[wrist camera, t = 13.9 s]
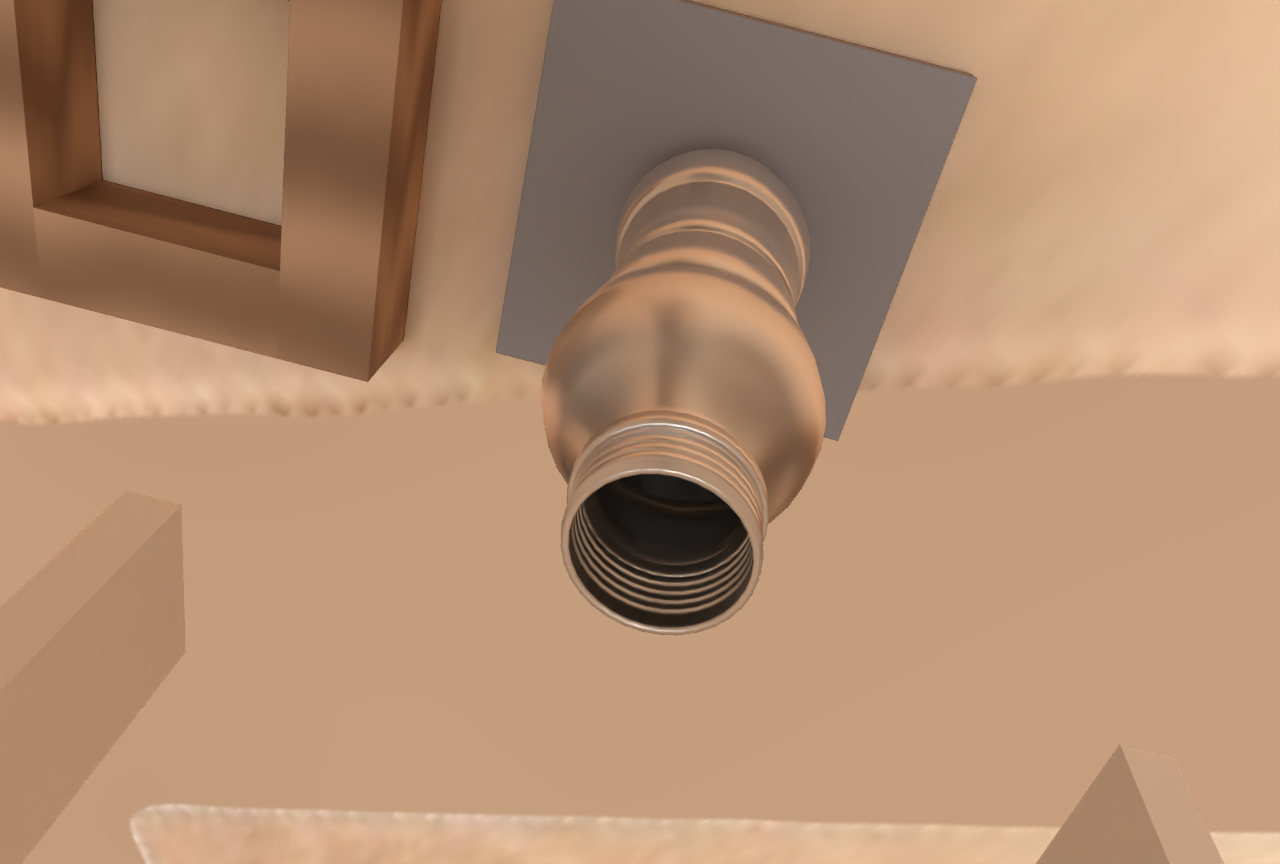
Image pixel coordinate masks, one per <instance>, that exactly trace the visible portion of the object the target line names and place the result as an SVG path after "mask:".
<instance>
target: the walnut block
mask: <svg viewBox="0 0 1280 864" xmlns="http://www.w3.org/2000/svg"><path fill="white" fill-rule="evenodd" d="M289 1H290V25H289V51H288V76H287V102H286V128H285V154H284V180H283V206H282V226H278V225H274V224H270V223H266V222H262V221H258V220H254V219H251V218H247V217H243V216H239V215H235V214H231V213H227V212H224V211H220V210H216V209H212V208H208V207H204V206H200V205H196V204H193V203H189V202H185V201H181V200H177V199H173V198H169V197H165V196H162V195H158V194H154V193H150V192H146V191H142V190H138V189H135V188H131V187H127V186H123V185H119V184H115V183H111V182H107V181H104V180H102V169H101V152H100V134H99V116H98V99H97V81H96V64H95V46H94V29H93V11H92V0H0V287H2V288H5V289H9V290H13V291H17V292H21V293H25V294H29V295H33V296H36V297H40V298H44V299H48V300H52V301H56V302H60V303H64V304H68V305H71V306H75V307H79V308H83V309H87V310H91V311H95V312H99V313H102V314H106V315H110V316H114V317H118V318H122V319H126V320H130V321H134V322H137V323H141V324H145V325H149V326H153V327H157V328H161V329H165V330H168V331H172V332H176V333H180V334H184V335H188V336H192V337H196V338H200V339H203V340H207V341H211V342H215V343H219V344H223V345H227V346H231V347H234V348H238V349H242V350H246V351H250V352H254V353H258V354H262V355H266V356H269V357H273V358H277V359H281V360H285V361H289V362H293V363H297V364H300V365H304V366H308V367H312V368H316V369H320V370H324V371H328V372H332V373H335V374H339V375H343V376H347V377H351V378H355V379H359V380H363V381H366V382H368V381H369V380H370V379H371V377H372V376H373V375H374V374H375V373H376V372H377V370H378V369H379V368H380V367H381V366H382V365H383V363H384V362H385V361H386V360H387V359H388V358H389V356H390V355H391V354H392V353H393V352H394V351H395V349H396V348H397V347H398V346H399V345H400V344H401V342H402V341H403V340H404V331H405V322H406V313H407V304H408V295H409V286H410V277H411V268H412V259H413V250H414V241H415V232H416V223H417V214H418V205H419V196H420V188H421V179H422V170H423V161H424V152H425V143H426V134H427V125H428V116H429V107H430V98H431V89H432V80H433V71H434V62H435V53H436V44H437V35H438V26H439V17H440V8H441V0H289Z"/></svg>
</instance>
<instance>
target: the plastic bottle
mask: <svg viewBox="0 0 1280 864" xmlns="http://www.w3.org/2000/svg"><path fill="white" fill-rule="evenodd" d="M809 262H810V236H809V232H808V228H807V224H806V220H805V217H804V215H803V213H802V210H801V208H800V206H799V204H798V202H797V200H796V199H795V197H794V196H793V194H792V193H791V192H790V190H789V189H788V188H787V186H786V185H785V184H784V183H783V182H782V181H781V180H780V179H779V178H778V177H777V176H776V175H775V174H774V173H773V172H771V171H770V170H769V169H768V168H767V167H766V166H764V165H762V164H761V163H759V162H758V161H756V160H754V159H753V158H751V157H748V156H745V155H743V154H740V153H737V152H734V151H728V150H721V149H702V150H695V151H692V152H688V153H684V154H681V155H678V156H675V157H673V158H671V159H669V160H667V161H665V162H663V163H661V164H660V165H658V166H656V167H655V168H654V169H653V170H651V171H650V172H649V173H648V174H646V175H645V176H644V177H643V178H642V179H641V180H640V181H639V183H638V184H637V185H636V186H635V188H634V189H633V190H632V191H631V193H630V195H629V196H628V198H627V200H626V202H625V204H624V206H623V208H622V211H621V215H620V218H619V222H618V225H617V234H616V248H615V263H616V269H615V271H614V272H613V274H612V276H611V277H610V279H609V280H608V281H607V282H606V283H604V284H603V285H602V286H601V287H600V288H599V289H598V290H597V291H596V292H595V293H594V294H592V295H591V296H590V297H589V298H588V299H587V300H586V301H585V302H584V303H583V304H582V305H581V306H580V308H579V309H578V310H577V311H576V312H575V314H574V315H573V316H572V317H571V318H570V320H569V321H568V323H567V324H566V325H565V327H564V328H563V329H562V331H561V332H560V334H559V336H558V338H557V340H556V341H555V343H554V345H553V347H552V349H551V351H550V353H549V355H548V359H547V363H546V367H545V371H544V375H543V379H542V411H543V418H544V425H545V430H546V436H547V441H548V446H549V449H550V452H551V454H552V457H553V459H554V462H555V464H556V467H557V469H558V470H559V472H560V473H561V475H562V477H563V478H564V479H565V481H566V483H567V484H568V489H567V491H568V492H567V507H566V510H565V514H564V517H563V520H562V527H561V550H562V556H563V561H564V564H565V567H566V569H567V571H568V574H569V576H570V579H571V580H572V582H573V583H574V584H575V586H576V588H577V589H578V590H579V592H580V593H581V594H582V595H583V596H584V598H586V599H587V601H588V602H589V603H590V604H591V605H592V606H594V607H595V608H596V609H598V610H599V611H600V612H602V613H603V614H604V615H606V616H607V617H609V618H611V619H613V620H615V621H617V622H619V623H621V624H622V625H624V626H627V627H631V628H633V629H637V630H639V631H642V632H648V633H654V634H660V635H682V634H689V633H696V632H700V631H703V630H706V629H709V628H712V627H715V626H717V625H719V624H720V623H722V622H724V621H726V620H728V619H729V618H731V617H732V616H733V615H734V614H735V613H736V612H737V611H739V610H740V609H741V608H742V607H743V606H744V605H745V603H746V602H747V601H748V599H749V598H750V597H751V595H752V593H753V591H754V589H755V587H756V584H757V582H758V580H759V575H760V573H761V568H762V561H763V541H764V539H765V536H766V530H767V525H768V524H769V523H770V522H772V521H773V520H774V519H775V518H776V517H777V516H778V515H780V514H781V513H782V512H783V511H784V510H785V509H786V508H787V507H788V506H789V505H790V504H791V502H792V501H793V500H794V498H795V497H796V496H797V494H798V493H799V491H800V490H801V489H802V487H803V485H804V484H805V482H806V480H807V478H808V476H809V475H810V473H811V471H812V469H813V466H814V464H815V462H816V459H817V457H818V455H819V453H820V450H821V447H822V441H823V437H824V432H825V426H826V411H825V396H824V392H823V388H822V384H821V380H820V376H819V372H818V369H817V365H816V361H815V357H814V355H813V353H812V351H811V349H810V347H809V345H808V343H807V341H806V339H805V337H804V334H803V332H802V330H801V328H800V326H799V324H798V322H797V317H796V313H795V306H796V305H797V303H798V300H799V298H800V295H801V292H802V290H803V287H804V284H805V281H806V278H807V274H808V268H809Z"/></svg>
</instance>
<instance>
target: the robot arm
mask: <svg viewBox="0 0 1280 864" xmlns="http://www.w3.org/2000/svg"><path fill="white" fill-rule="evenodd" d="M182 548H183V547H182V513H181V504H177V503H173V502H169V501H165V500H161V499H157V498H153V497H149V496H145V495H141V494H137V493H133V492H130V491H125V492H124V493H123V494H122V495H121V496H120V497H119V498H118V499H116V500H115V501H114V502H113V503H112V504H111V505H110V506H109V507H108V508H107V509H106V510H104V511H103V513H101V514H100V515H99V516H98V517H97V518H96V519H95V520H94V521H93V522H92V523H90V525H88V526H87V527H86V528H85V529H84V530H83V531H82V532H81V533H80V534H78V536H76V537H75V538H74V539H73V540H72V541H71V542H70V543H69V544H68V545H67V546H65V548H63V549H62V550H61V551H60V552H59V553H58V554H57V555H56V556H55V557H54V558H53V559H51V560H50V561H49V562H48V563H47V564H46V565H45V566H44V567H43V568H42V569H41V570H39V571H38V572H37V573H36V574H35V575H34V576H33V577H32V578H31V579H30V580H29V581H28V582H26V583H25V584H24V585H23V586H22V587H21V588H20V589H19V590H18V591H17V592H16V593H15V594H13V595H12V596H11V597H10V598H9V599H8V600H7V601H6V602H5V603H4V604H3V605H2V606H0V864H22V863H23V862H24V860H25V859H26V858H27V856H28V855H29V854H30V853H31V851H32V850H33V849H34V847H35V846H36V845H37V844H38V842H39V841H40V840H41V838H42V837H43V836H44V834H45V833H46V832H47V831H48V829H49V828H50V827H51V825H52V824H53V823H54V822H55V820H56V819H57V817H58V816H59V815H60V814H61V812H62V811H63V810H64V809H65V807H66V806H67V805H68V803H69V802H70V801H71V799H72V798H73V797H74V796H75V794H76V793H77V792H78V791H79V789H80V788H81V787H82V785H83V784H84V783H85V781H86V780H87V779H88V777H89V776H90V775H91V774H92V772H93V771H94V770H95V769H96V767H97V766H98V765H99V763H100V762H101V761H102V759H103V758H104V757H105V755H106V754H107V753H108V752H109V750H110V749H111V748H112V747H113V745H114V744H115V743H116V741H117V740H118V739H119V737H120V736H121V735H122V733H123V732H124V731H125V730H126V728H127V727H128V726H129V725H130V723H131V722H132V721H133V719H134V718H135V717H136V715H137V714H138V713H139V712H140V710H141V709H142V708H143V706H144V705H145V704H146V702H147V701H148V700H149V699H150V697H151V696H152V695H153V693H154V692H155V691H156V690H157V688H158V687H159V686H160V684H161V683H162V682H163V681H164V679H165V678H166V676H167V675H168V674H169V673H170V671H171V670H172V669H173V668H174V666H175V665H176V664H177V662H178V661H179V660H180V659H181V657H182V656H183V655H184V653H185V620H184V583H183V549H182ZM1036 864H1224V863H1223V860H1222V858H1221V856H1220V854H1219V852H1218V850H1217V848H1216V846H1215V843H1214V841H1213V839H1212V837H1211V835H1210V833H1209V831H1208V829H1207V826H1206V824H1205V822H1204V820H1203V818H1202V816H1201V814H1200V812H1199V809H1198V807H1197V805H1196V803H1195V801H1194V799H1193V797H1192V795H1191V792H1190V790H1189V788H1188V786H1187V784H1186V782H1185V780H1184V778H1183V776H1182V773H1181V771H1180V769H1179V767H1178V765H1177V763H1176V761H1175V758H1173V757H1169V756H1165V755H1161V754H1158V753H1154V752H1150V751H1146V750H1142V749H1138V748H1134V747H1130V746H1126V745H1122V744H1120V745H1119V746H1118V747H1117V749H1116V750H1115V752H1114V753H1113V754H1112V756H1111V757H1110V759H1109V760H1108V762H1107V763H1106V764H1105V766H1104V767H1103V769H1102V770H1101V772H1100V773H1099V774H1098V776H1097V777H1096V779H1095V780H1094V782H1093V783H1092V784H1091V786H1090V787H1089V789H1088V790H1087V791H1086V793H1085V794H1084V796H1083V797H1082V799H1081V800H1080V802H1079V803H1078V804H1077V806H1076V807H1075V809H1074V810H1073V812H1072V813H1071V814H1070V816H1069V817H1068V819H1067V820H1066V821H1065V823H1064V824H1063V826H1062V827H1061V829H1060V830H1059V831H1058V833H1057V834H1056V836H1055V837H1054V839H1053V840H1052V841H1051V843H1050V844H1049V846H1048V847H1047V849H1046V850H1045V851H1044V853H1043V854H1042V856H1041V857H1040V859H1039V860H1038V861H1037V863H1036Z"/></svg>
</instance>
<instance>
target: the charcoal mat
mask: <svg viewBox="0 0 1280 864" xmlns="http://www.w3.org/2000/svg"><path fill="white" fill-rule="evenodd" d="M976 80H977V78H976V77H974V76H973V75H972V74H969V73H965V72H961V71H957V70H953V69H950V68H946V67H942V66H938V65H934V64H930V63H927V62H923V61H919V60H915V59H911V58H907V57H904V56H900V55H896V54H892V53H888V52H884V51H880V50H877V49H873V48H869V47H865V46H861V45H857V44H854V43H850V42H846V41H842V40H838V39H834V38H831V37H827V36H823V35H819V34H815V33H811V32H808V31H804V30H800V29H796V28H792V27H788V26H785V25H781V24H777V23H773V22H769V21H765V20H762V19H758V18H754V17H750V16H746V15H742V14H739V13H735V12H731V11H727V10H723V9H719V8H716V7H712V6H708V5H704V4H700V3H696V2H693V1H689V0H554V4H553V10H552V16H551V22H550V28H549V34H548V40H547V46H546V52H545V58H544V64H543V70H542V76H541V82H540V88H539V94H538V100H537V106H536V112H535V118H534V124H533V130H532V136H531V142H530V149H529V155H528V161H527V167H526V173H525V179H524V185H523V191H522V197H521V203H520V209H519V215H518V221H517V227H516V233H515V239H514V245H513V251H512V257H511V263H510V269H509V275H508V281H507V287H506V293H505V299H504V305H503V311H502V318H501V324H500V330H499V336H498V342H497V348H496V353H499V354H503V355H507V356H511V357H515V358H519V359H522V360H526V361H530V362H534V363H538V364H542V365H546V363H547V359H548V355H549V353H550V351H551V349H552V347H553V345H554V343H555V341H556V340H557V338H558V336H559V334H560V332H561V331H562V329H563V328H564V327H565V325H566V324H567V323H568V321H569V320H570V318H571V317H572V316H573V315H574V314H575V312H576V311H577V310H578V309H579V308H580V306H581V305H582V304H583V303H584V302H585V301H586V300H587V299H588V298H589V297H590V296H591V295H592V294H594V293H595V292H596V291H597V290H598V289H599V288H600V287H601V286H602V285H603V284H604V283H606V282H607V281H608V280H609V279H610V277H611V276H612V274H613V272H614V271H615V269H616V263H615V248H616V234H617V225H618V222H619V218H620V215H621V211H622V208H623V206H624V204H625V202H626V200H627V198H628V196H629V195H630V193H631V191H632V190H633V189H634V188H635V186H636V185H637V184H638V183H639V181H640V180H641V179H642V178H643V177H644V176H645V175H646V174H648V173H649V172H650V171H651V170H653V169H654V168H655V167H656V166H658V165H660V164H661V163H663V162H665V161H667V160H669V159H671V158H673V157H675V156H678V155H681V154H684V153H688V152H692V151H695V150H702V149H721V150H728V151H734V152H737V153H740V154H743V155H745V156H748V157H751V158H753V159H754V160H756V161H758V162H759V163H761V164H762V165H764V166H766V167H767V168H768V169H769V170H770V171H771V172H773V173H774V174H775V175H776V176H777V177H778V178H779V179H780V180H781V181H782V182H783V183H784V184H785V185H786V186H787V188H788V189H789V190H790V192H791V193H792V194H793V196H794V197H795V199H796V200H797V202H798V204H799V206H800V208H801V210H802V213H803V215H804V217H805V220H806V224H807V228H808V232H809V236H810V262H809V268H808V274H807V278H806V281H805V284H804V287H803V290H802V292H801V295H800V298H799V300H798V303H797V305H796V306H795V313H796V317H797V322H798V324H799V326H800V328H801V330H802V332H803V334H804V337H805V339H806V341H807V343H808V345H809V347H810V349H811V351H812V353H813V355H814V357H815V361H816V365H817V369H818V372H819V376H820V380H821V384H822V388H823V392H824V396H825V411H826V426H825V432H824V437H825V438H829V439H832V440H836V441H838V440H839V437H840V434H841V432H842V429H843V426H844V424H845V421H846V419H847V416H848V414H849V411H850V408H851V406H852V403H853V400H854V398H855V395H856V393H857V390H858V388H859V385H860V382H861V380H862V377H863V374H864V372H865V369H866V367H867V364H868V361H869V359H870V356H871V354H872V351H873V348H874V346H875V343H876V341H877V338H878V335H879V333H880V330H881V328H882V325H883V322H884V320H885V317H886V315H887V312H888V309H889V307H890V304H891V302H892V299H893V296H894V294H895V291H896V289H897V286H898V283H899V281H900V278H901V276H902V273H903V270H904V268H905V265H906V263H907V260H908V257H909V255H910V252H911V249H912V247H913V244H914V242H915V239H916V236H917V234H918V231H919V229H920V226H921V223H922V221H923V218H924V216H925V213H926V210H927V208H928V205H929V203H930V200H931V197H932V195H933V192H934V190H935V187H936V184H937V182H938V179H939V177H940V174H941V171H942V169H943V166H944V164H945V161H946V158H947V156H948V153H949V151H950V148H951V145H952V143H953V140H954V138H955V135H956V132H957V130H958V127H959V124H960V122H961V119H962V117H963V114H964V111H965V109H966V106H967V104H968V101H969V98H970V96H971V93H972V91H973V88H974V85H975V83H976Z"/></svg>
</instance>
